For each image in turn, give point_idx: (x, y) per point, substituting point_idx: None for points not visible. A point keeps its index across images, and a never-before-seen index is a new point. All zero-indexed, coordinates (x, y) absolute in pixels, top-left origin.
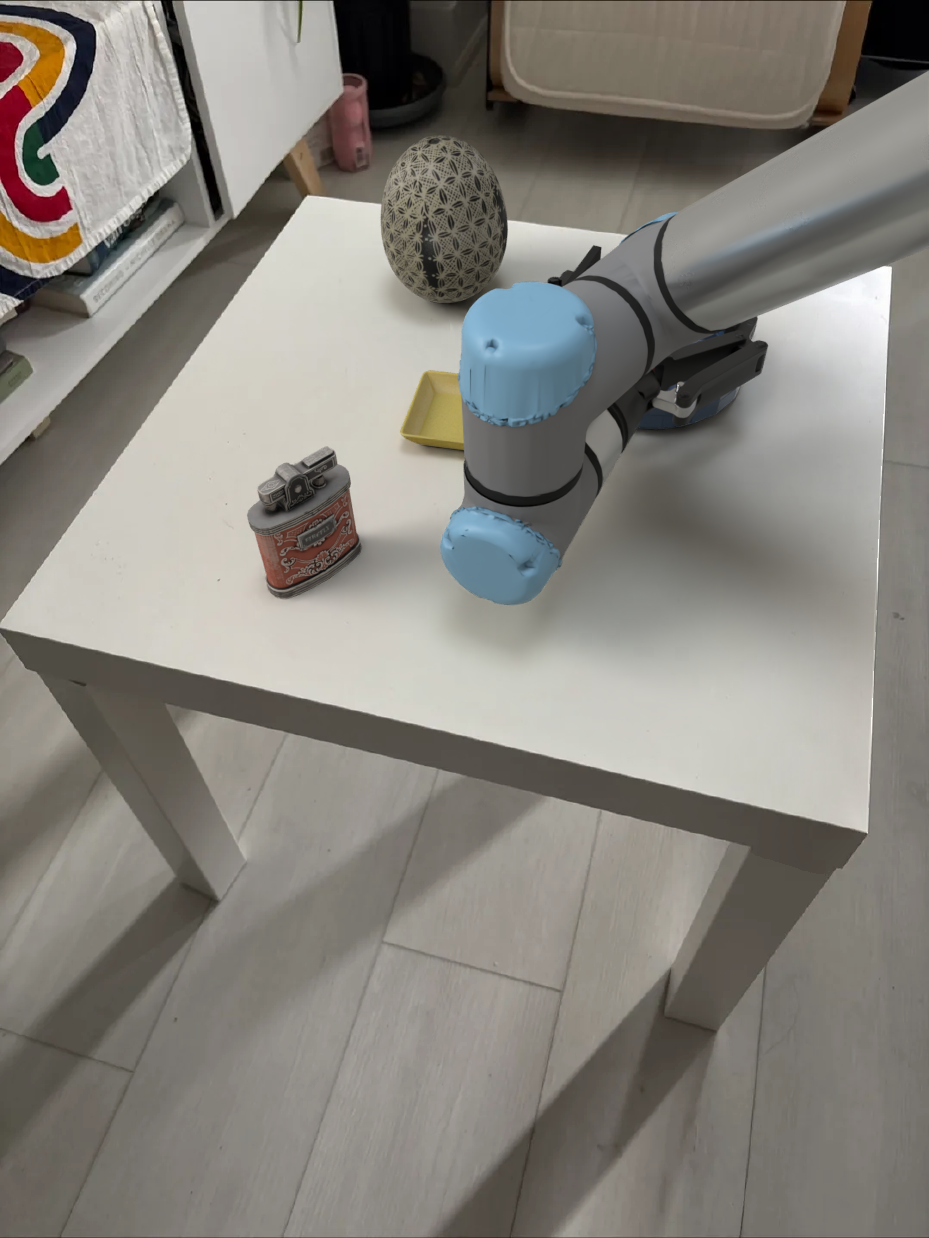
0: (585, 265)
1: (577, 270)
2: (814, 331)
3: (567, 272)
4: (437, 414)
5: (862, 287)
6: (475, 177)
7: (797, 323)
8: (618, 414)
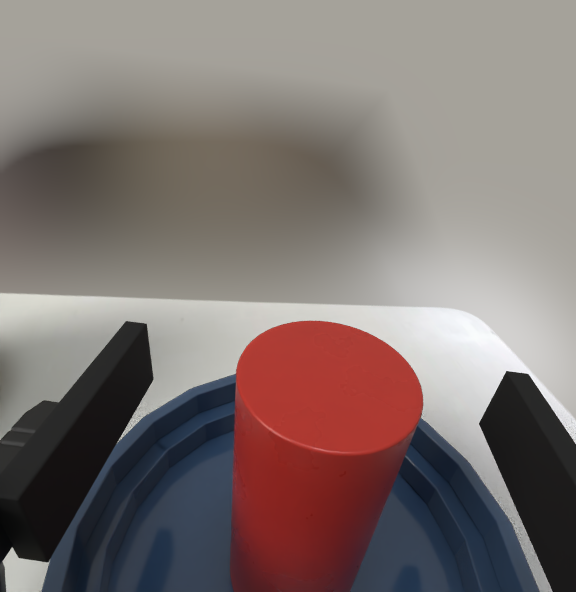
0: (93, 385)
1: (61, 410)
2: (476, 390)
3: (40, 410)
4: None
5: (469, 322)
6: None
7: (448, 381)
8: None
